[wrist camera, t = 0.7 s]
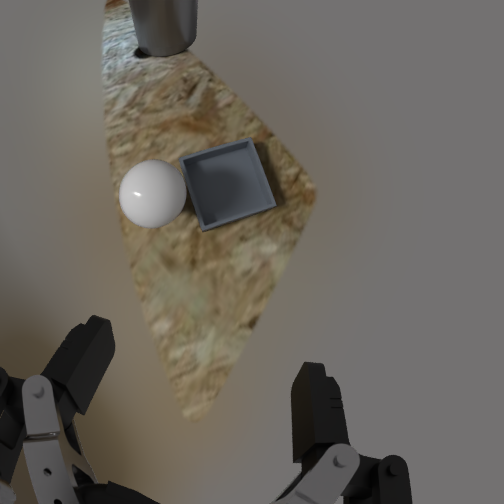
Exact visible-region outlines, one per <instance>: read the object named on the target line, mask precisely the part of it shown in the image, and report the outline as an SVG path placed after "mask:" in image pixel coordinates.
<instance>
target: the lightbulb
mask: <svg viewBox="0 0 504 504" xmlns="http://www.w3.org/2000/svg"><path fill="white" fill-rule="evenodd" d="M119 201H120V205H121V208H122V210H123V212H124V214H125V215H126V217H127V218H128V219H129V220H130V221H131V222H133V223H134V224H136V225H138V226H140V227H144V228H159V227H163V226H165V225H167V224H169V223H171V222H172V221H173V220H174V219H175V218H176V217H177V216H178V215H179V214H180V212H181V211H182V209H183V207H184V204H185V201H186V184H185V181H184V179H183V176H182V175H181V173H180V172H179V171H178V169H177V168H175V167H174V166H173V165H172V164H170V163H168V162H166V161H162V160H156V159H152V160H146V161H142V162H140V163H138V164H136V165H135V166H133V167H132V168H131V169H130V170H129V171H128V172H127V173H126V175H125V176H124V178H123V180H122V182H121V185H120V189H119Z"/></svg>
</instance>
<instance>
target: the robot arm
mask: <svg viewBox="0 0 504 504" xmlns="http://www.w3.org/2000/svg"><path fill="white" fill-rule="evenodd" d="M129 5H130V9H131V14H132V18H133V23H134V27H135V32H136V36H137V40H138V44H139V48H140V49H141V51H143V52H144V53H146V54H148V55H151V56H169V55H173V54H176V53H179V52H181V51H183V50H185V49H187V48H188V47H189V46H191V45H192V43H193V42H194V41H195V39H196V28H197V27H196V26H197V9H198V0H129ZM114 352H115V341H114V336H113V332H112V327H111V322H110V320H108V319H104V318H102V317H99V316H96V315H92V316H91V317H90V318H89V320H88V321H87V323H86V324H85V325H84V324H82V323H81V324H79V325H77V326H76V327H75V328H73V329H71V331H70V332H69V334H68V335H67V336H66V338H65V340H64V341H63V342H62V344H61V345H60V347H59V348H58V350H57V351H56V352H55V354H54V355H53V357H52V358H51V360H50V361H49V363H48V364H47V366H46V368H45V369H44V371H43V372H42V373H41V374H40V375H34V376H31V377H29V378H28V379H27V380H24V379H19V378H14V377H10V376H8V374H7V373H6V371H5V370H4V369H3V368H1V367H0V416H1V414H2V412H3V410H4V412H3V414H2V416H1V418H0V504H14V501H15V500H16V495H15V493H14V492H13V489H12V487H11V485H10V483H11V479H12V476H13V472H14V469H15V466H16V463H17V460H18V458H19V455H20V452H21V449H22V446H23V448H24V453H25V458H26V462H27V466H28V470H29V474H30V477H31V481H32V484H33V488H34V491H35V494H36V497H37V500H38V503H39V504H160V503H158V502H156V501H154V500H152V499H150V498H148V497H146V496H144V495H143V494H141V493H139V492H137V491H135V490H132V489H129V488H127V487H124V486H121V485H118V484H116V483H113V482H111V481H108V484H100V483H98V482H97V479H96V477H95V474H94V472H93V470H92V468H91V466H90V464H89V463H88V461H87V459H86V457H85V455H84V452H83V449H82V446H81V442H80V439H79V436H78V432H77V429H76V425H75V421H74V418H73V417H74V415H75V413H76V412H78V413H80V414H82V415H85V413H86V411H87V408H88V406H89V404H90V402H91V400H92V398H93V396H94V394H95V392H96V390H97V388H98V385H99V383H100V382H101V380H102V377H103V376H104V373H105V371H106V370H107V368H108V366H109V364H110V362H111V360H112V358H113V356H114ZM341 398H342V397H341V392H340V387H339V385H338V384H337V382H336V381H335V379H334V378H333V377H326V372H325V367H324V365H323V364H322V363H313V362H304V363H303V365H302V367H301V369H300V371H299V373H298V375H297V377H296V378H295V380H294V382H293V385H292V390H291V411H292V442H293V463H301V464H302V470H301V471H300V472H299V473H298V475H297V476H296V477H295V478H294V479H293V480H292V481H291V482H290V484H289V485H288V486H287V487H286V488H285V489H284V490H283V491H282V492H281V493H280V494H279V495H278V497H276V499H275V500H274V501H272V502H271V503H270V504H334V503H335V501H336V500H337V499H338V497H339V496H343V499H344V500H343V504H412V496H411V487H410V479H409V473H408V467H407V464H406V462H405V460H404V459H403V458H401V457H400V456H397V455H389V456H387V457H385V458H384V459H382V460H381V459H376V458H371V457H367V456H363V455H360V454H358V453H357V451H356V450H355V449H354V448H353V447H351V445H350V443H349V439H348V432H347V426H346V420H345V415H344V409H343V403H342V400H341ZM26 436H27V437H26Z"/></svg>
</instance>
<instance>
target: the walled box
mask: <svg viewBox="0 0 504 504" xmlns="http://www.w3.org/2000/svg"><path fill="white" fill-rule="evenodd" d="M179 162H180V166H181V169H182V172H183V175H184V178H185V182H186V185H187V188H188V191H189V194H190V197H191V200H192V203H193V206H194V209H195V212H196V215H197V218H198V221H199V224H200V227H201V230H202V232H205V231H208V230H211V229H214V228H217V227H219V226H222V225H225V224H228V223H231V222H234V221H237V220H240V219H243V218H246V217H249V216H252V215H255V214H258V213H261V212H264V211H267V210H270V209H272V208H274V207H275V206H277V205H276V203H275V200H274V197H273V194H272V192H271V189H270V186H269V183H268V181H267V178H266V175H265V173H264V170H263V167H262V165H261V162H260V159H259V157H258V154H257V152H256V149H255V146H254V144H253V141H252V139H251V137H249V138H245V139H241V140H238V141H234V142H230V143H227V144H223V145H219V146H216V147H213V148H209V149H206V150H203V151H199V152H196V153H193V154H190V155H187V156H184V157H181V158H179Z"/></svg>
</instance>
